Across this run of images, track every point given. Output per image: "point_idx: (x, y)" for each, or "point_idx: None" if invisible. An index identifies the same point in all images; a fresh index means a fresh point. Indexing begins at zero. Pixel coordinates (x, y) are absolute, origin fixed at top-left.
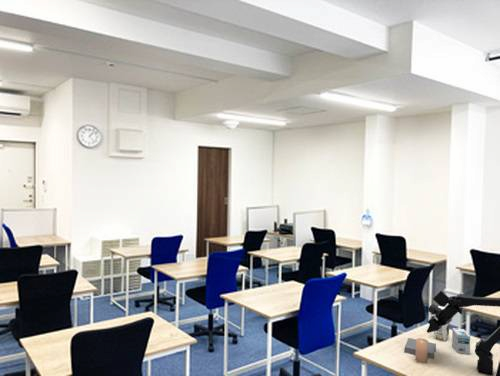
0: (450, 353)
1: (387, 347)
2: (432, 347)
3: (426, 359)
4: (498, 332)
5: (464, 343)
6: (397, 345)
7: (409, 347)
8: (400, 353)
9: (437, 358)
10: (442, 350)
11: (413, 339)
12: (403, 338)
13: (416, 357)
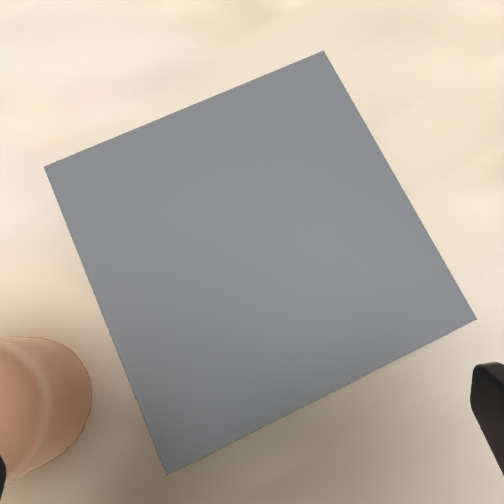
0: (494, 488)
1: (33, 41)
2: (331, 358)
3: None
4: None
5: None
6: (160, 64)
7: (82, 203)
8: (10, 183)
9: (234, 475)
10: None
11: (334, 103)
12: (364, 4)
13: None
